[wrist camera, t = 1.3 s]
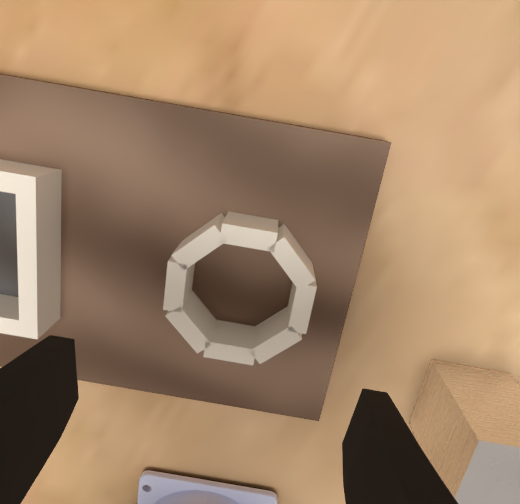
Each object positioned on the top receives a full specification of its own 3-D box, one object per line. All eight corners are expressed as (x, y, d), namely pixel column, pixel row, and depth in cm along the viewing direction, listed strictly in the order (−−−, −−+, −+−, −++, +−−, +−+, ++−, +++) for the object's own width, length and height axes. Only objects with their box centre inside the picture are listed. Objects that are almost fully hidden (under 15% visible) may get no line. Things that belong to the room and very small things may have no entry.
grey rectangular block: (482, 435, 23) (542, 532, 17) (409, 422, 23) (446, 516, 17) (509, 372, 21) (582, 458, 16) (430, 359, 21) (478, 440, 16)
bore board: (317, 407, 22) (322, 451, 20) (-91, 337, 22) (-145, 371, 20) (385, 140, 18) (404, 147, 15) (-128, 51, 18) (-205, 41, 15)
